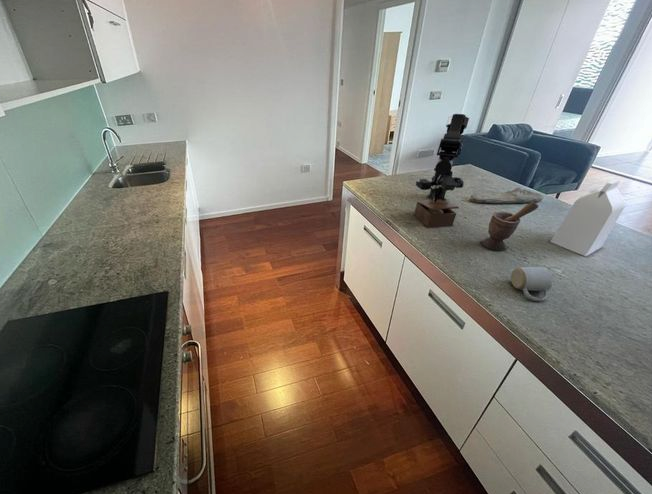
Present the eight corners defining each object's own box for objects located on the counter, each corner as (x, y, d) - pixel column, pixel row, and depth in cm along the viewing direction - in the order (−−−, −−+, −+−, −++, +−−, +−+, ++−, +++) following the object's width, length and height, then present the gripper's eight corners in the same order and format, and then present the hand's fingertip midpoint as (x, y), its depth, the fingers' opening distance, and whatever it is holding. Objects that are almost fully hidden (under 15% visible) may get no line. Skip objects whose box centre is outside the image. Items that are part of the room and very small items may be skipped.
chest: (452, 225, 130) (456, 213, 126) (427, 227, 129) (431, 215, 126) (437, 212, 141) (440, 200, 137) (414, 214, 140) (417, 202, 136)
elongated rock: (464, 199, 155) (474, 208, 147) (467, 190, 152) (477, 199, 144) (533, 194, 153) (546, 203, 145) (537, 185, 150) (551, 194, 142)
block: (435, 216, 136) (438, 207, 134) (441, 221, 132) (443, 211, 130) (426, 216, 136) (428, 208, 133) (431, 221, 132) (433, 212, 129)
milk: (585, 256, 109) (628, 190, 95) (550, 241, 117) (584, 179, 103) (601, 247, 113) (643, 183, 99) (565, 234, 122) (600, 173, 108)
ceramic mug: (506, 279, 99) (515, 261, 95) (532, 280, 98) (542, 262, 94) (523, 302, 90) (534, 283, 86) (552, 303, 89) (565, 284, 85)
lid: (458, 208, 125) (458, 206, 124) (433, 210, 124) (433, 208, 124) (440, 200, 137) (440, 199, 137) (417, 202, 136) (417, 200, 136)
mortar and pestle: (506, 240, 119) (527, 194, 108) (519, 252, 112) (543, 205, 101) (477, 240, 120) (495, 194, 109) (488, 252, 112) (508, 205, 101)
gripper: (432, 175, 116) (423, 210, 125) (477, 172, 117) (465, 208, 126) (419, 166, 125) (411, 199, 134) (460, 164, 127) (450, 197, 135)
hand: (434, 201), depth 132 cm, fingers closed
